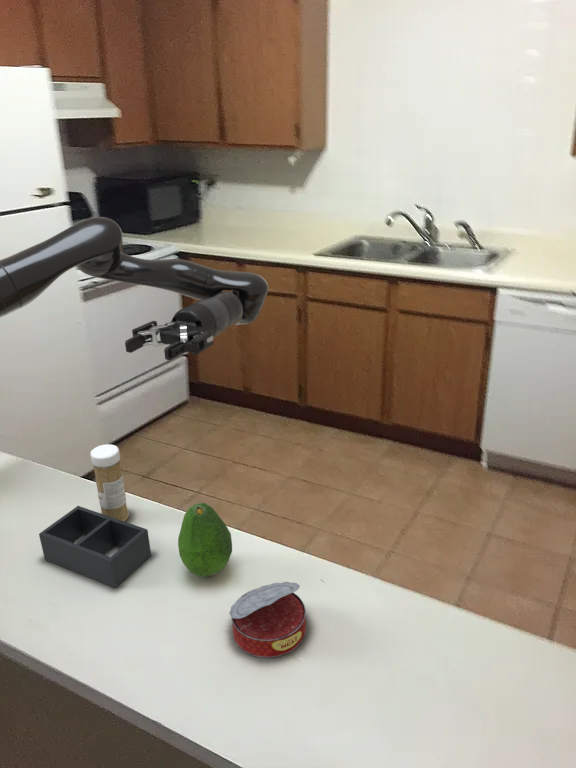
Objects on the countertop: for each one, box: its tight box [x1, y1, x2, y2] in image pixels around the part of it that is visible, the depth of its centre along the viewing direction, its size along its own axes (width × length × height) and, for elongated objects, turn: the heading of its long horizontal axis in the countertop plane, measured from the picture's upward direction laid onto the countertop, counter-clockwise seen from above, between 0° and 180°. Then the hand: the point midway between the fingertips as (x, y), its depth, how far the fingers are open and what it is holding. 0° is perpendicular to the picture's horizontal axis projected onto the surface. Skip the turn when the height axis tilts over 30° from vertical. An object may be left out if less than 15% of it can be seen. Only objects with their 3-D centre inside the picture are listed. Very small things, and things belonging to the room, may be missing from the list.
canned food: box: [228, 581, 307, 659], centre depth 88 cm, size 11×10×10 cm
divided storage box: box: [38, 505, 152, 589], centre depth 104 cm, size 14×8×5 cm, turn 61°
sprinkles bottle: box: [90, 443, 130, 522], centre depth 111 cm, size 5×5×13 cm
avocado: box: [177, 502, 233, 578], centre depth 98 cm, size 8×8×12 cm
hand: (146, 351), depth 113 cm, fingers open, 8 cm apart
